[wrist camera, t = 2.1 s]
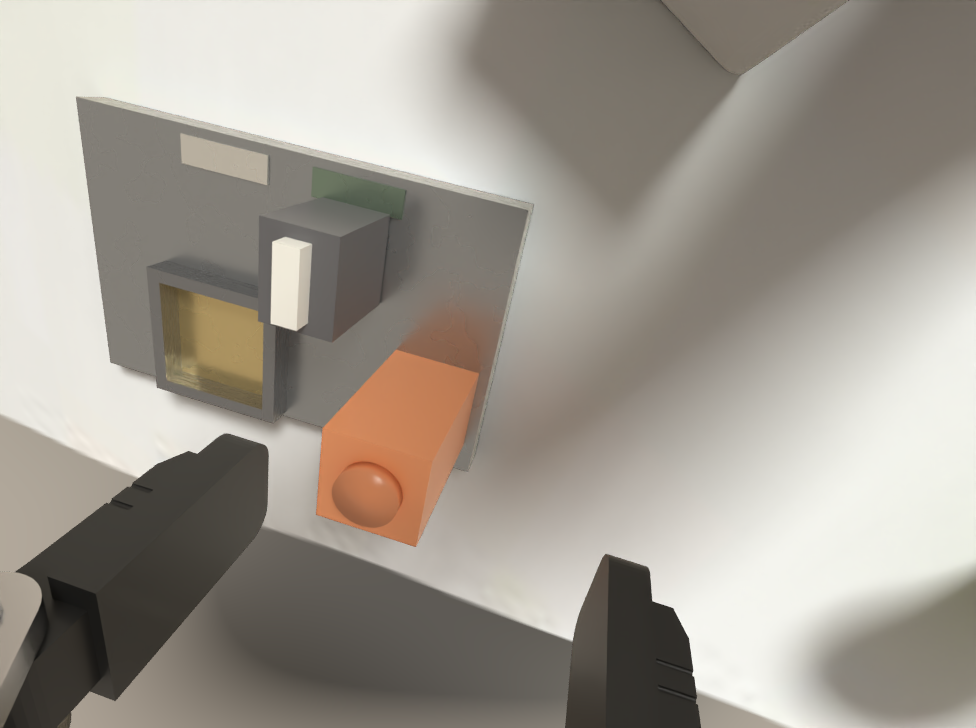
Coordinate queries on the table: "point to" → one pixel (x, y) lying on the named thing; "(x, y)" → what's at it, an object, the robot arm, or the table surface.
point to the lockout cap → (395, 446)
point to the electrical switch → (748, 26)
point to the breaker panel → (235, 257)
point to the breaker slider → (320, 266)
